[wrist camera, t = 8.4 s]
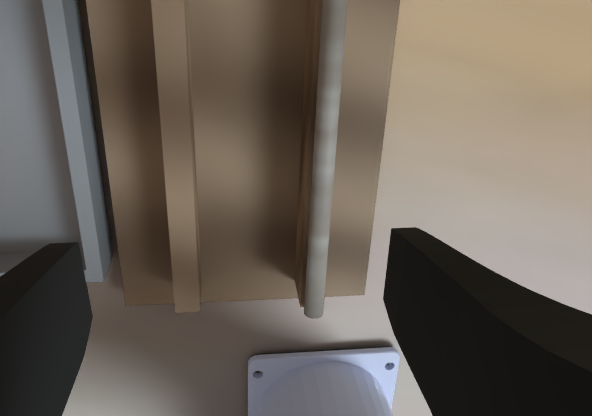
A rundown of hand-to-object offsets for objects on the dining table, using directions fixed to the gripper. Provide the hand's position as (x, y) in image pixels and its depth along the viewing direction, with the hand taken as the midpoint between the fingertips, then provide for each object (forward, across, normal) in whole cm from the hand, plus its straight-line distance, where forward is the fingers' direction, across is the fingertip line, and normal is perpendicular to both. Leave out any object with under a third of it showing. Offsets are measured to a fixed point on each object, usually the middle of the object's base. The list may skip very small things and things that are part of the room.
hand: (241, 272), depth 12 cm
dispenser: (+10, -1, -1) cm, 10 cm away
